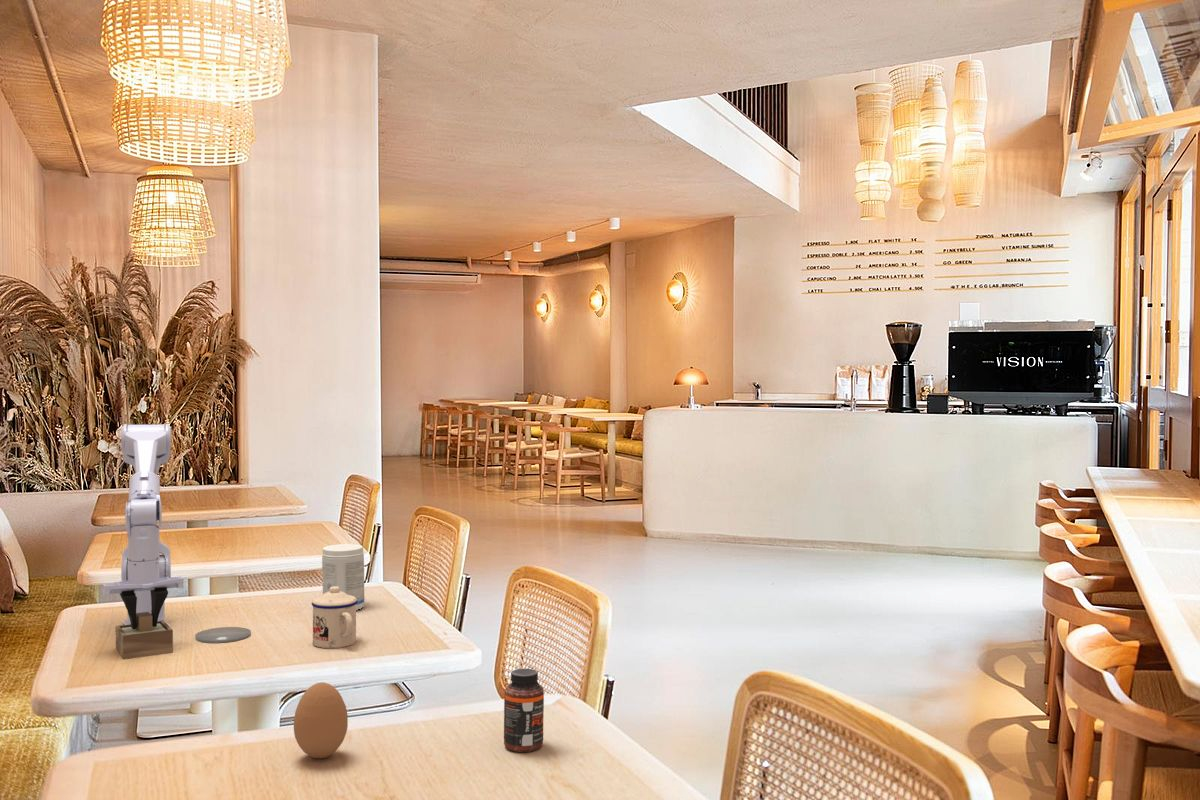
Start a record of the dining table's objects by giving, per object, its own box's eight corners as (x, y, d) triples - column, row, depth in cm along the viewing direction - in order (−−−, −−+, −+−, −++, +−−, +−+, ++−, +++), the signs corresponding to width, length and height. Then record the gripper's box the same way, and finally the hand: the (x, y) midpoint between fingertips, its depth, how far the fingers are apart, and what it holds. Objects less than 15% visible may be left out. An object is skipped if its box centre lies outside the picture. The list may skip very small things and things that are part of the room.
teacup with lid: (304, 642, 212) (304, 586, 211) (345, 635, 218) (345, 580, 217) (329, 655, 202) (329, 596, 202) (371, 647, 208) (371, 590, 208)
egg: (290, 751, 151) (290, 678, 151) (342, 744, 154) (343, 672, 154) (297, 770, 144) (297, 693, 144) (352, 762, 147) (352, 687, 147)
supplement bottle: (538, 755, 151) (539, 678, 150) (499, 752, 152) (499, 676, 151) (547, 740, 157) (547, 667, 156) (509, 738, 158) (510, 665, 157)
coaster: (189, 634, 217) (189, 631, 217) (243, 627, 223) (243, 624, 223) (202, 645, 208) (202, 642, 208) (257, 638, 214) (257, 635, 214)
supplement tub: (364, 603, 247) (364, 543, 247) (364, 612, 238) (364, 549, 238) (322, 605, 245) (323, 544, 245) (321, 614, 236) (321, 550, 235)
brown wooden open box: (115, 648, 206) (115, 626, 205) (163, 642, 211) (163, 620, 210) (123, 659, 198) (123, 635, 198) (172, 652, 203) (172, 629, 203)
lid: (121, 630, 205) (121, 613, 205) (159, 626, 209) (159, 608, 209) (127, 638, 199) (127, 620, 199) (166, 633, 203) (166, 615, 203)
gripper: (106, 565, 197) (107, 636, 197) (186, 558, 205) (186, 626, 205) (101, 560, 202) (101, 628, 203) (179, 553, 210) (179, 619, 211)
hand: (143, 626), depth 204 cm, fingers open, 3 cm apart
